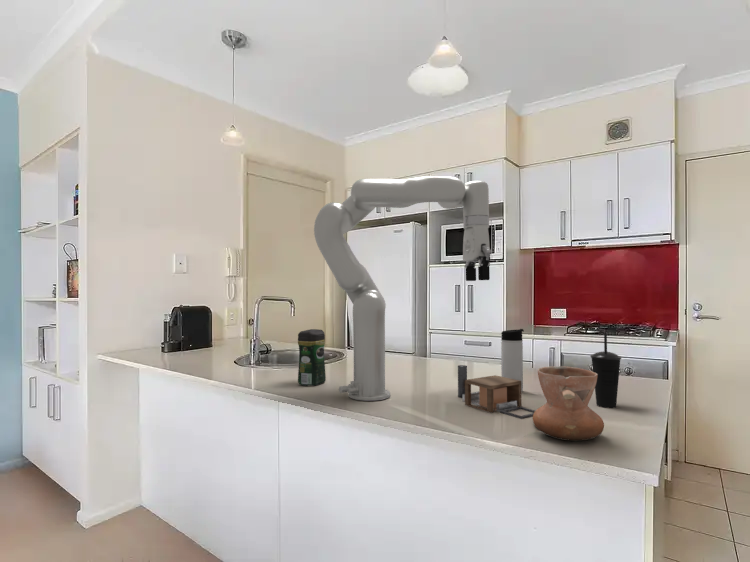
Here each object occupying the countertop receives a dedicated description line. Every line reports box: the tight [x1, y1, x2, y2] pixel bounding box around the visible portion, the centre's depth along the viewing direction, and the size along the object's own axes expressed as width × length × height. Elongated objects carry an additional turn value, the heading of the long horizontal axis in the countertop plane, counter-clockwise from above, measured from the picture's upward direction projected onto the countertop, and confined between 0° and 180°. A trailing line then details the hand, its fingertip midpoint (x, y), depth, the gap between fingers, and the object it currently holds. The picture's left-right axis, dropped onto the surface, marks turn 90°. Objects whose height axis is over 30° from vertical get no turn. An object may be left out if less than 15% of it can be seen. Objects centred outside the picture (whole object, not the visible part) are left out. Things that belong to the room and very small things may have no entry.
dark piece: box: [499, 406, 536, 420], centre depth 112 cm, size 8×7×2 cm
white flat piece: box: [457, 364, 518, 413], centre depth 122 cm, size 7×18×10 cm, turn 33°
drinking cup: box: [590, 332, 622, 409], centre depth 124 cm, size 8×8×20 cm
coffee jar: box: [297, 328, 327, 387], centre depth 154 cm, size 10×8×19 cm
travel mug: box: [500, 328, 524, 393], centre depth 138 cm, size 6×7×20 cm
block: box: [478, 386, 507, 409], centre depth 119 cm, size 5×5×5 cm
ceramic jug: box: [532, 365, 605, 442], centre depth 100 cm, size 18×14×14 cm
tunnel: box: [464, 374, 523, 414], centre depth 119 cm, size 12×9×8 cm
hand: (477, 280), depth 134 cm, fingers open, 9 cm apart
